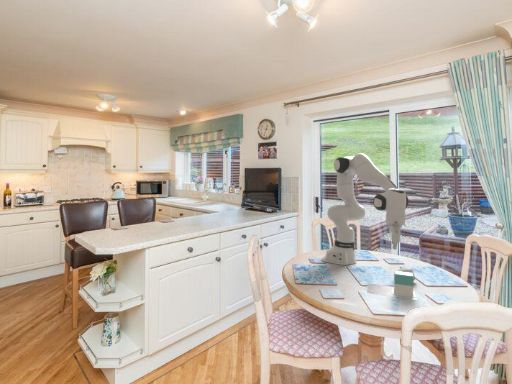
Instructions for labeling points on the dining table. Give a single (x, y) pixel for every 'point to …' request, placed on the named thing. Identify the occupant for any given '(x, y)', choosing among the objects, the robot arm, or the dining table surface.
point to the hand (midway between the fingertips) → (393, 246)
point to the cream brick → (403, 289)
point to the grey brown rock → (406, 270)
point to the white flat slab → (387, 291)
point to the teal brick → (403, 278)
